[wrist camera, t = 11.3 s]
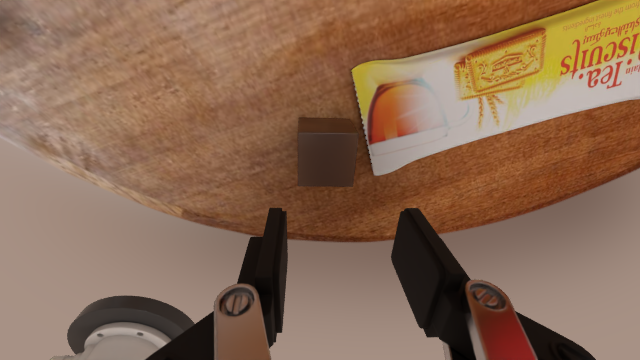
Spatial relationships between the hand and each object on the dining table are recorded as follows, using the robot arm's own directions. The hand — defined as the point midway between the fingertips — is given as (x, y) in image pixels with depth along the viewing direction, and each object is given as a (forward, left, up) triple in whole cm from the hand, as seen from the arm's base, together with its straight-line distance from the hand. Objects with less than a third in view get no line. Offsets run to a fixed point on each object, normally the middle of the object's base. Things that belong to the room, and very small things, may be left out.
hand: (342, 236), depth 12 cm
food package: (+16, +6, -14) cm, 22 cm away
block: (0, 0, -13) cm, 13 cm away
